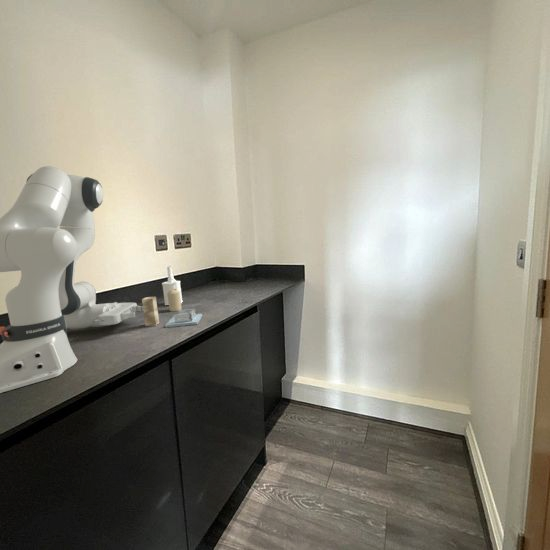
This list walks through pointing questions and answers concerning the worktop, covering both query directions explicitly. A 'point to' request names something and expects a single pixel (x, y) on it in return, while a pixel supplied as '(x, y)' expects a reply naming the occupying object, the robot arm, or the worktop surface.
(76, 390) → the worktop surface
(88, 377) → the worktop surface
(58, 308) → the robot arm
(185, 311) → the slot bracket
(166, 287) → the white tall bottle shape
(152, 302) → the beech post
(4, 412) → the worktop surface
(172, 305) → the candle
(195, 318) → the base plate
